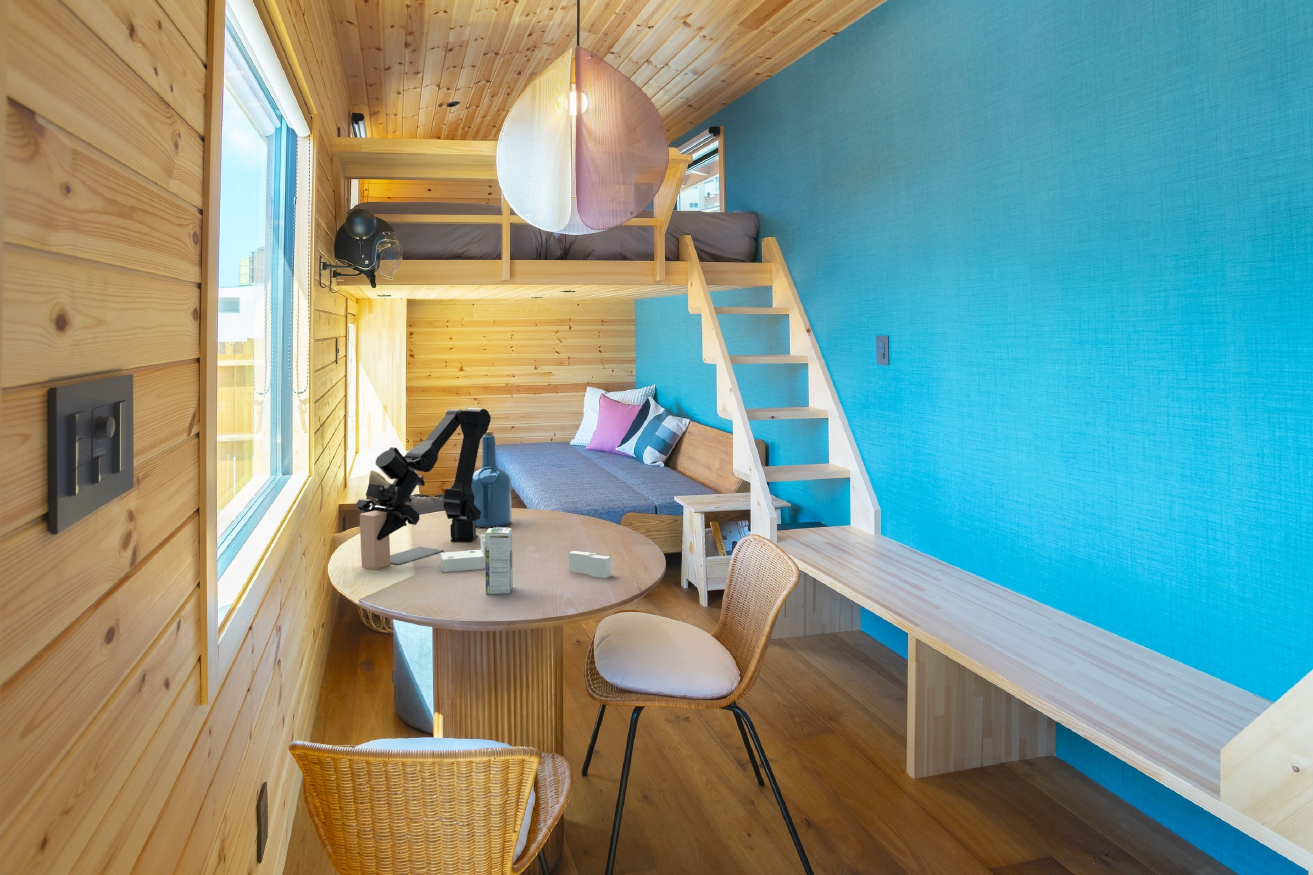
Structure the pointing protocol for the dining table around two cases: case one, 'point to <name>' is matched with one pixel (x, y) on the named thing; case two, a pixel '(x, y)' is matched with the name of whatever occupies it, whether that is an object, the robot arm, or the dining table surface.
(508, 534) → the syrup box
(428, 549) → the mat
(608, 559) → the white stepped block
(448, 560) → the bracket
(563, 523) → the dining table surface
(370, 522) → the terracotta block
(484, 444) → the blue bottle
